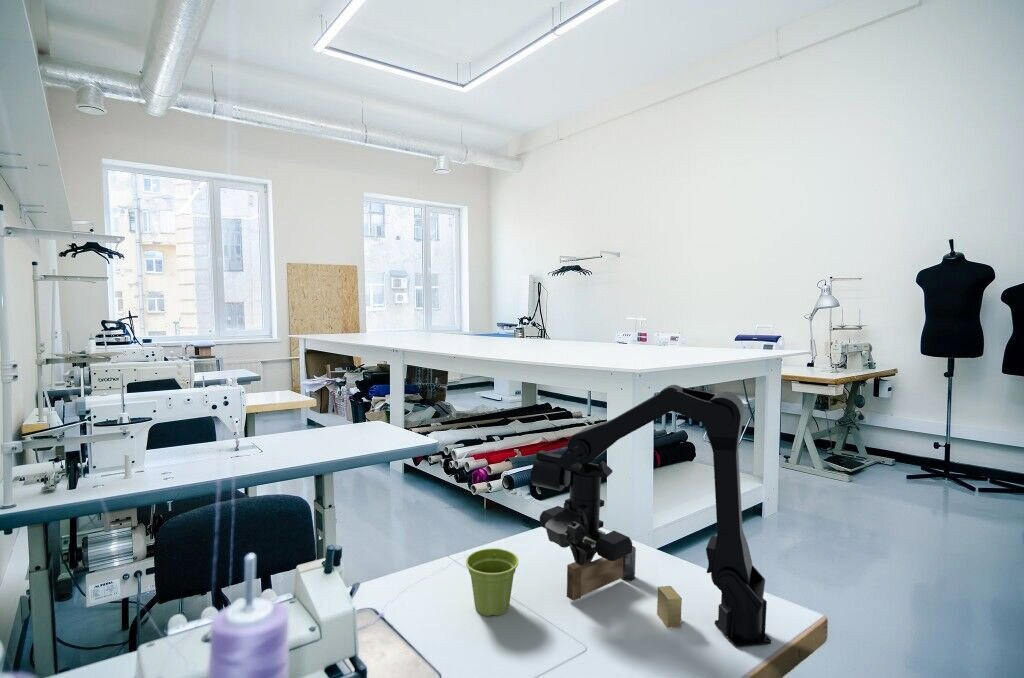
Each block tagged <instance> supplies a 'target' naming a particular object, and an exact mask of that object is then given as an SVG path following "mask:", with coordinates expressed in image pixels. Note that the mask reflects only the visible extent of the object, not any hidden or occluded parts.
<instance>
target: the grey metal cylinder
mask: <svg viewBox="0 0 1024 678" xmlns="http://www.w3.org/2000/svg"><path fill="white" fill-rule="evenodd" d="M636 550H637V548H636V547H635V546H634V545H632V552H631V553H629V554H627V555H625V556H624V557H623V578H621V579H620V580H622V581H624V580H625V581H626V582H631V581H632V580H633V581H634V580H635V579H636V558H637V557H636V556H637V555H636ZM633 581H632V582H633Z"/></svg>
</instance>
